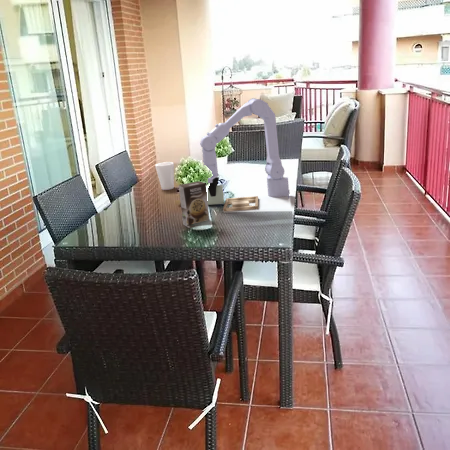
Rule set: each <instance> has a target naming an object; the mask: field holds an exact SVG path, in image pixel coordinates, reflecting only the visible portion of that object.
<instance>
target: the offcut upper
mask: <svg viewBox="0 0 450 450" xmlns="http://www.w3.org/2000/svg"><path fill="white" fill-rule="evenodd" d="M249 205H250V203H249V201H239V202H232V204H231V207H244V206H249Z"/></svg>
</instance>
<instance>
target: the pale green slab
mask: <svg viewBox="0 0 450 450" xmlns="http://www.w3.org/2000/svg"><path fill="white" fill-rule="evenodd" d="M222 204H223V205H224V204H225V199H224V188H223V184H221V185H219V184H217V187H216V196H213V197H211V196H210V193H209V189H208V206H209V205H222Z"/></svg>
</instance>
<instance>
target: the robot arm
mask: <svg viewBox="0 0 450 450" xmlns="http://www.w3.org/2000/svg"><path fill="white" fill-rule="evenodd" d="M253 115H256V116H258V117H259V119H261V120H263V125H264V126H263V127H264V137H265V148H266V165H265V167H264V171H265V173H266V174H267V177H266V183H267V186H266V187H267V196H268V197H270V198H279V197H287V199H290V193H291V192H290V189H289V188H290V187H289V177H288V176H287V177H285V176H284V174H285V168H284V166H283V164H282V160H281V158H280V151H279V140H278V129H277V120H276V119H277V118H276V113H275V112H274V111H273V110H272V108H271V106H270V105H269V104H268V102H266V101H264V99H261V98H256V97H255V98H254V97H253V98H250V99H249V100H247V102H245V103H244V104H243V105H241V107H239V108H238V109H237V110H236V111H235V112H234V113H233V114H232V115H231V116H230V117H228V119H227V120H226V121H224V122H219V123H216V124H215V125H214V128H213V129H211V130H210V132H209V131H208V132H207V133H206V135H204V136H203V137H201V140H200V142H199V143H200V147H201V148H202V149H201V150H202V151H201V152H202V161H203V163H204V164H203V163H202V164H203V166H204V165H206V166H207V167H208V168H209V169H210V170H211V171H212V174H213V176H212V177H211V178H208V183H210V186H209V188H208V189H209V193H210V196H211V197H213V196H216V187H217V185H218V183H219V180H220V177H219V176H220V175H219V173H218V172H219V170H218V160H217V153H216V147H217V144H219V143H220V142H221V141H222V140H223V139H225V138H226V137H227V136H228V135H229V134H230V129H232V128H233V127H234V126H235V125H236V124H237V123H239V122H240V121H241V120H242V119H244V118H245V117H250V116H253Z"/></svg>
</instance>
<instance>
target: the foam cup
mask: <svg viewBox="0 0 450 450" xmlns="http://www.w3.org/2000/svg"><path fill="white" fill-rule="evenodd" d="M154 168H155V170H156V173H157V177H158V180H159V184H160V188H161V190H163V191H168V190H172V189H174V187H175V181H174V180H175V173H174V172H175V170H174V169H175V164H174V162H173V161H164V162H159V163H156V164H155V167H154Z"/></svg>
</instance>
